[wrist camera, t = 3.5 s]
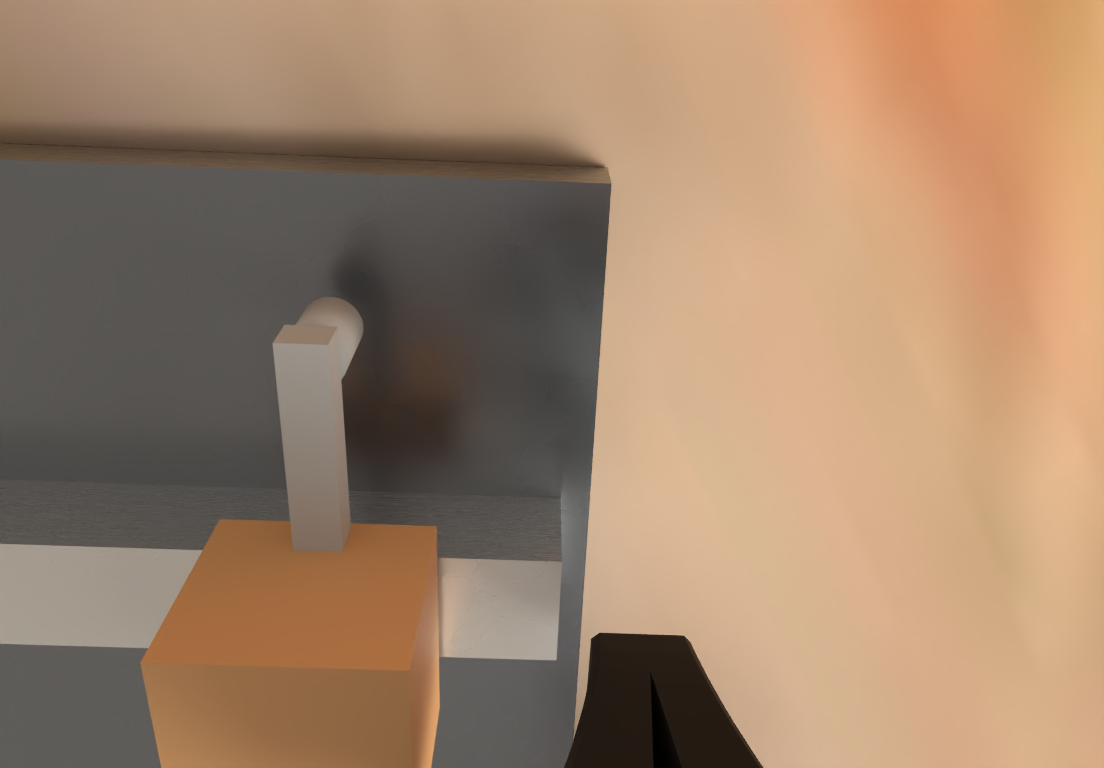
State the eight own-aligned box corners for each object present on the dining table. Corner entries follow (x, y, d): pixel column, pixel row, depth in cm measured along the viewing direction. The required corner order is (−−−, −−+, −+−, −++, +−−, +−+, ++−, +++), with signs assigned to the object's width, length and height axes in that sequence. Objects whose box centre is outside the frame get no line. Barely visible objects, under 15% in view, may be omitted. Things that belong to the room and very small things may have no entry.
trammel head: (442, 297, 14) (401, 437, 10) (446, 659, 17) (415, 871, 13) (218, 289, 13) (93, 427, 10) (263, 654, 16) (180, 865, 13)
